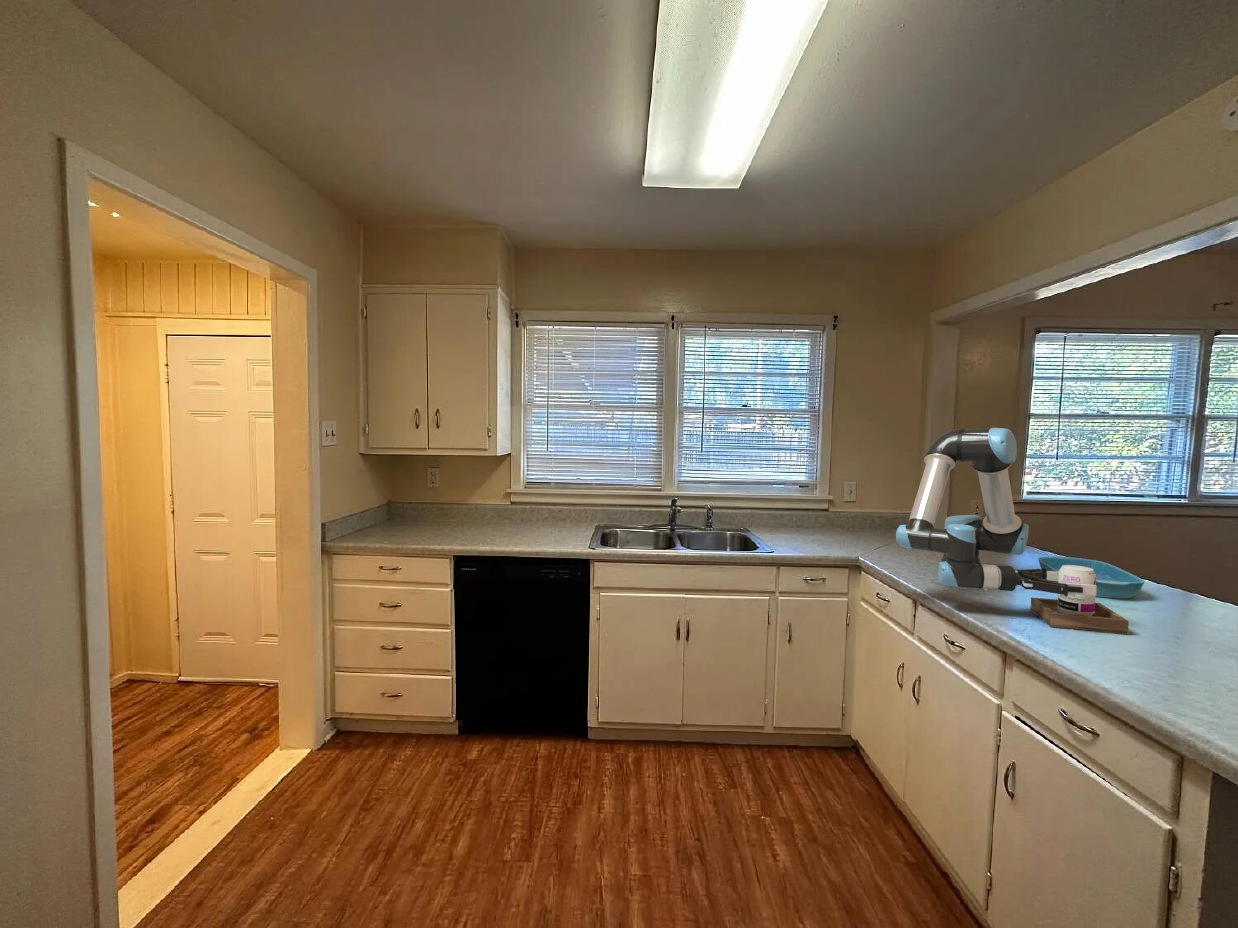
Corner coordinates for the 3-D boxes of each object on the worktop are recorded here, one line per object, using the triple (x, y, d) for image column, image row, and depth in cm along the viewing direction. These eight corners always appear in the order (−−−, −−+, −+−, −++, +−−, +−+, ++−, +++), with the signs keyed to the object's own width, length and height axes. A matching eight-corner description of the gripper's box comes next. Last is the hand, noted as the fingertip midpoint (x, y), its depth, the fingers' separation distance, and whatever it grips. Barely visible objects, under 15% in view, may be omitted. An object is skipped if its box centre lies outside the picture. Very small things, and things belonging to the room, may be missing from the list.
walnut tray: (1030, 609, 164) (1031, 597, 163) (1099, 615, 158) (1099, 602, 157) (1051, 627, 149) (1051, 613, 149) (1127, 634, 143) (1128, 620, 142)
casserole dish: (1158, 606, 166) (1159, 584, 165) (1071, 599, 174) (1072, 578, 173) (1098, 576, 200) (1099, 557, 200) (1028, 571, 208) (1029, 554, 208)
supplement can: (1090, 616, 155) (1091, 566, 154) (1097, 624, 148) (1099, 572, 147) (1055, 611, 159) (1056, 563, 158) (1060, 620, 152) (1062, 569, 151)
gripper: (985, 578, 171) (1065, 584, 164) (1011, 601, 148) (1105, 609, 140) (985, 556, 171) (1065, 560, 163) (1011, 575, 148) (1106, 582, 140)
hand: (1084, 583), depth 152 cm, fingers open, 13 cm apart
